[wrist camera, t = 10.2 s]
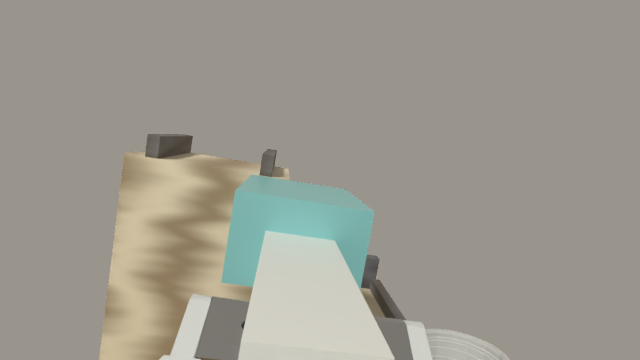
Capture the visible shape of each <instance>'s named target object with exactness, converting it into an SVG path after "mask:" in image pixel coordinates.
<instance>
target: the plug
mask: <svg viewBox="0 0 640 360" xmlns="http://www.w3.org/2000/svg"><path fill="white" fill-rule="evenodd" d="M374 213H375V212H374V211H373V210H372V209H370V208H369V207H368V206H366V205H365V204H364V203H363V202H361V201H360V200H359V199H357V198H356V197H355V196H353V195H352V194H351V193H349V192H348V191H347V190H346V189H340V188H334V187H327V186H321V185H315V184H309V183H303V182H296V181H290V180H284V179H277V178H271V177H265V176H259V175H251V176H250V177H249V178H248V179H247V180H246V181H245V182H243V183H242V184H241V185H240V186H239V187H238V188H237V189H236V190H235V195H234V202H233V208H232V215H231V221H230V228H229V235H228V241H227V248H226V254H225V261H224V268H223V274H222V281H221V283H227V284H235V285H243V286H250V287H253V289H252V294H251V298H250V303H249V307H248V312H247V316H246V321H245V325H244V330H243V334H242V339H241V344H240V351H239V357H238V360H394V359H395V358H394V356H393V354H392V352H391V350H390V348H389V346H388V344H387V342H386V340H385V338H384V336H383V334H382V332H381V330H380V328H379V326H378V324H377V322H376V321H375V319H374V317H373V315H372V313H371V311H370V309H369V307H368V305H367V303H366V301H365V299H364V297H363V295H362V293H361V291H360V289H361V284H362V278H363V273H364V267H365V262H366V256H367V251H368V245H369V240H370V235H371V229H372V224H373V218H374Z"/></svg>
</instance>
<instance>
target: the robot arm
mask: <svg viewBox="0 0 640 360" xmlns="http://www.w3.org/2000/svg"><path fill="white" fill-rule="evenodd" d="M249 303H250V302H249V301H242V300H235V299H228V298H221V297H213V296H207V295H199V294H193V295H192V296H191V298H190V300H189V302H188V305H187V308H186V311H185V314H184V317H183V320H182V323H181V326H180V328H179V331H178V334H177V337H176V340H175V343H174V346H173V349H172V352H171V354H170V355H163V356H162V357H161V358H160V359H159V360H238V357H239V351H240V344H241V339H242V334H243V330H244V325H245V321H246V316H247V312H248V307H249ZM373 317H374V319H375V321H376V322H377V324H378V326H379V328H380V330H381V332H382V334H383V336H384V338H385V340H386V342H387V344H388V346H389V348H390V350H391V352H392V354H393V356H394V358H395V359H394V360H433V358H432V354H431V350H430V346H429V342H428V338H427V334H426V331H425V327H424V325H423V324H422V323H421V322H416V321H406V320H402V319H394V318H385V317H376V316H373Z"/></svg>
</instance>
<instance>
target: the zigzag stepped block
mask: <svg viewBox="0 0 640 360" xmlns="http://www.w3.org/2000/svg"><path fill="white" fill-rule="evenodd" d="M192 137H193V136H189V135H177V134H174V135H173V134H164V135H163V134H148V138H147V145H146V151H141V152H133V153H125V155H124V163H123V171H122V179H121V187H120V195H119V203H118V212H117V220H116V228H115V236H114V244H113V252H112V260H111V269H110V277H109V285H108V293H107V301H106V309H105V317H104V325H103V334H102V342H101V350H100V358H99V360H159V359H160V358H161V357H162V356H163V355H170V354H171V352H172V349H173V346H174V343H175V340H176V337H177V334H178V331H179V328H180V326H181V323H182V320H183V317H184V314H185V311H186V308H187V305H188V302H189V300H190V298H191V296H192V295H193V294H199V295H207V296H213V297H221V298H228V299H235V300H242V301H249V302H250V298H251V294H252V289H253V287H250V286H243V285H235V284H227V283H221V281H222V274H223V268H224V261H225V254H226V248H227V241H228V235H229V228H230V221H231V215H232V208H233V202H234V195H235V190H236V189H237V188H238V187H239V186H240V185H241V184H242V183H243V182H245V181H246V180H247V179H248V178H249V177H250V176H251V175H259V176H265V177H271V178H277V179H284V180H290V179H289V173H288V169H286V168H280V167H274V165H275V158H276V152H277V151H276V150H271V149H268V150H267V151H265V152H264V153H263V156H262V162H261V164H256V163H249V162H244V161H238V160H232V159H226V158H220V157H213V156H207V155H202V154H195V153H190V151H191V144H192ZM378 264H379V258H378V257H377V256H372V255H367V256H366V262H365V267H364V273H363V278H362V284H361V289H360V291H361V293H362V295H363V297H364V299H365V301H366V303H367V305H368V307H369V309H370V311H371V313H372V315H373V316H376V317H385V318H394V319H402V320H406V319H405V318H404V316H403V315H402V313H401V312H400V310H399V309H398V307H397V306H396V304H395V303H394V301H393V300H392V298H391V297H390V295H389V294H388V292H387V291H386V289H385V288H384V286H383V285H382V283H381V282H380V280H376V274H377V269H378Z"/></svg>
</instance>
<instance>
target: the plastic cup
mask: <svg viewBox="0 0 640 360" xmlns="http://www.w3.org/2000/svg"><path fill="white" fill-rule="evenodd" d="M425 331H426V334H427V338H428V342H429V346H430V350H431V354H432V358H433V360H510V359H509V358H508V357H507V355H506V354H505V353H504V352H502V351H500V350H499V349H497V348H496V347H494V346H493V345H491V344H490V343H488V342H485V341H483V340H481V339H478V338H476V337H474V336H472V335H468V334H464V333H460V332H457V331H453V330H444V329H426V330H425Z"/></svg>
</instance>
